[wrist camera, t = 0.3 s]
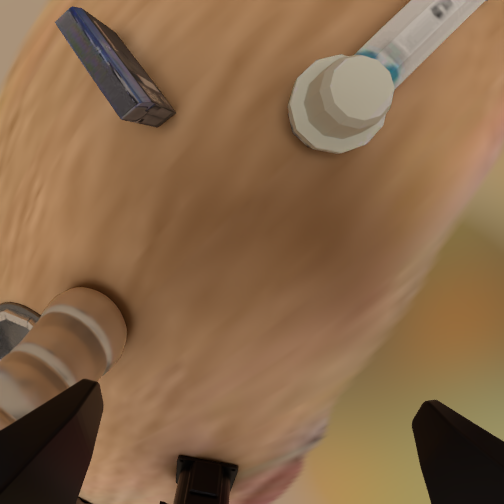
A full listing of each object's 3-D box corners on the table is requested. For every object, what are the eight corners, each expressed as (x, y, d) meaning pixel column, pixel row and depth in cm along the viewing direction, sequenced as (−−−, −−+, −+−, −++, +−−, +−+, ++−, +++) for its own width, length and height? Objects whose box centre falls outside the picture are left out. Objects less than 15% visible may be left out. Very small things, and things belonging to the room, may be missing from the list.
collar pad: (92, 422, 27) (88, 430, 26) (3, 382, 27) (-2, 388, 25) (78, 324, 23) (70, 332, 22) (-20, 287, 23) (-28, 292, 21)
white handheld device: (519, -17, 10) (373, 170, 12) (476, 5, 16) (326, 174, 19) (475, -64, 9) (282, 81, 11) (438, -34, 15) (263, 115, 18)
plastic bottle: (62, 268, 22) (-124, 434, 3) (138, 290, 22) (-25, 536, 3) (66, 335, 24) (-63, 505, 5) (134, 358, 24) (34, 574, 5)
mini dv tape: (176, 113, 18) (145, 98, 13) (158, 127, 19) (121, 119, 13) (115, 32, 16) (74, 2, 11) (99, 46, 17) (54, 21, 11)
